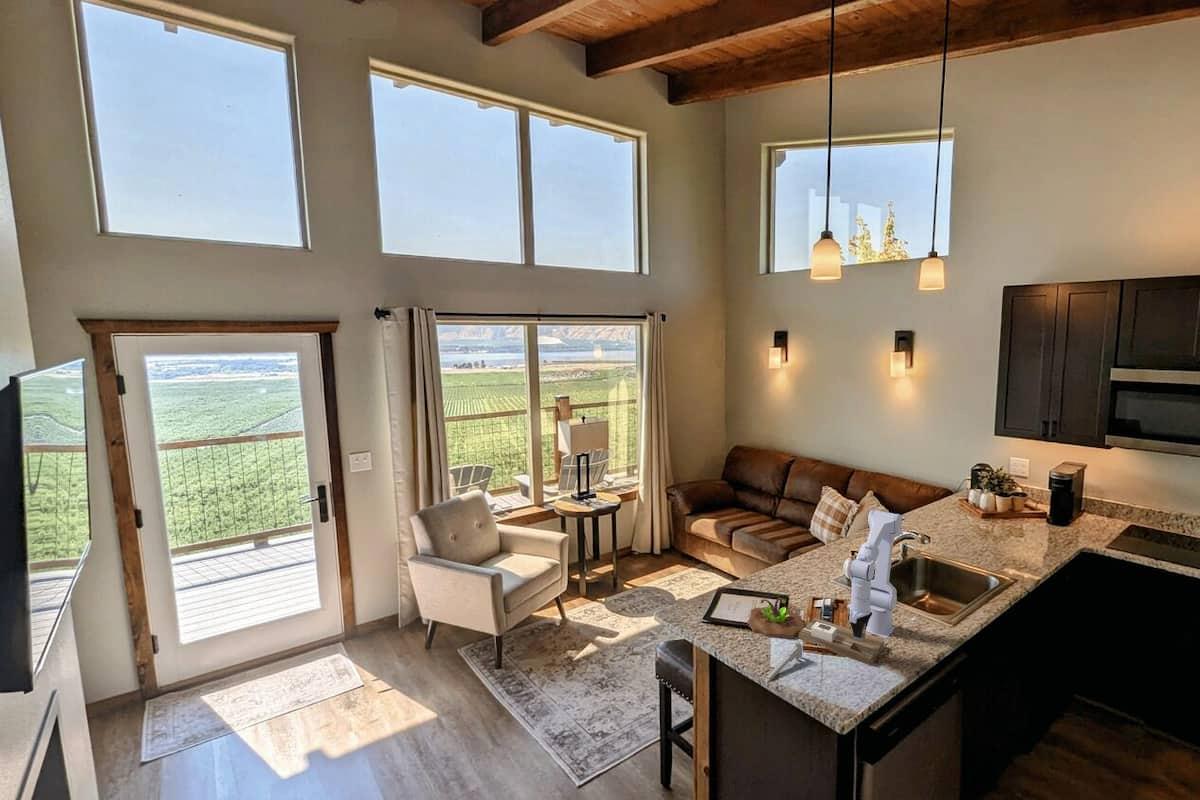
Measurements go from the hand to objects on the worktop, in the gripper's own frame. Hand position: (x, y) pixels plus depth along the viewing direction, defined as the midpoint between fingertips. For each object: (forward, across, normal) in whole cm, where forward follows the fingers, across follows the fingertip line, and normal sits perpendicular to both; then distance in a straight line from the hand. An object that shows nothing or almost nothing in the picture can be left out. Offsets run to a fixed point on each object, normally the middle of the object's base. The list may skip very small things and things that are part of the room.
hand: (859, 634), depth 189 cm
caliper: (+8, +25, -15) cm, 30 cm away
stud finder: (+5, 0, -12) cm, 13 cm away
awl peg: (+2, 0, 0) cm, 2 cm away
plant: (+8, 0, -29) cm, 30 cm away
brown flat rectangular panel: (+7, -3, -7) cm, 10 cm away
